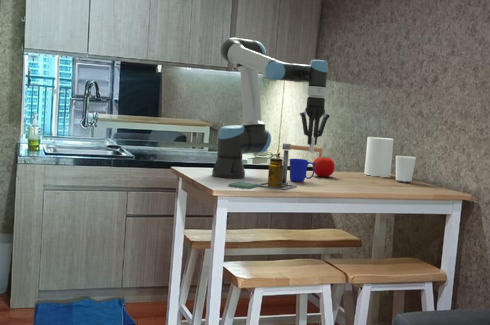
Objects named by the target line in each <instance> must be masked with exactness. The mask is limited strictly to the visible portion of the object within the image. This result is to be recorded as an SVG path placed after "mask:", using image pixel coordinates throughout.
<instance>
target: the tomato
mask: <svg viewBox="0 0 490 325" xmlns="http://www.w3.org/2000/svg"><path fill="white" fill-rule="evenodd" d="M313 163H316V166H315V172H314V174H315V175H316V176H318V177H321V178H322V177H323V178H328V177H330V176H332V175H333V173H334V172H335V163H334V160H333V159H332V158H331V157H328V156H322V158H319V156H318V157H316V158H315V159H314V160H313ZM311 165H312V166H311V167H312V170H313V169H314V164H311Z"/></svg>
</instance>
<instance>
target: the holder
mask: <svg viewBox="0 0 490 325" xmlns="http://www.w3.org/2000/svg"><path fill="white" fill-rule="evenodd" d="M257 184H258V187H257V188H259V187H260V188H267V189H273V190H281V191H288V190H290V189H294V188H297V187H298V185H295V184H293V185H292V184H288V185H287V184H282V186H286V187H282V188H277V187H269V186H267V185H268V181H266V182H263V183H257ZM265 185H266V186H265Z"/></svg>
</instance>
